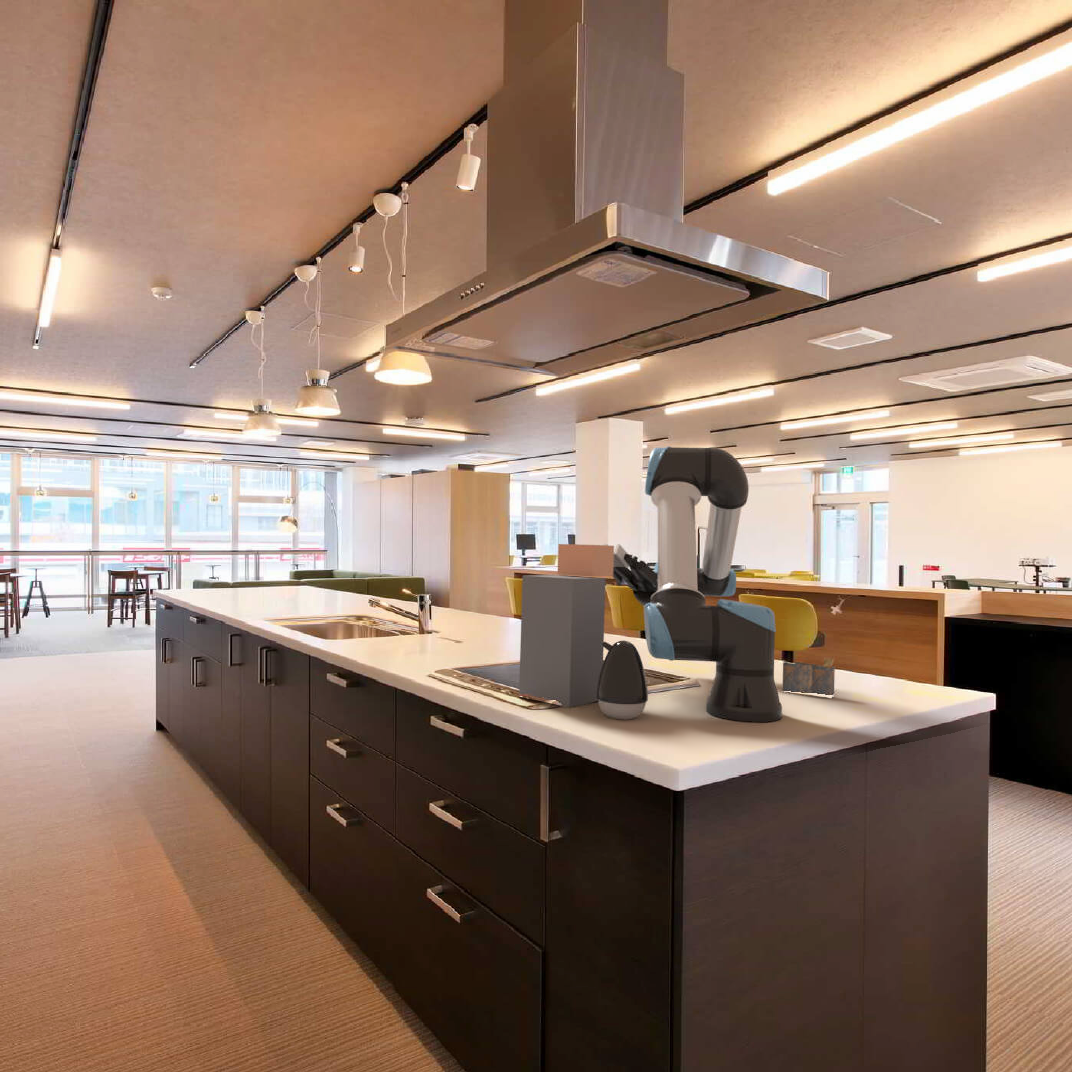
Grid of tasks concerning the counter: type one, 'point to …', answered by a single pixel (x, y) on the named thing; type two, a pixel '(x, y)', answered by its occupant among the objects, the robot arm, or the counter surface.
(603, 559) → the orange and grey block
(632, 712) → the pump dispenser
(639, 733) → the counter surface
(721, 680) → the robot arm
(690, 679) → the counter surface
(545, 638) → the grey tall block
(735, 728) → the counter surface
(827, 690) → the ruin model on sheet
